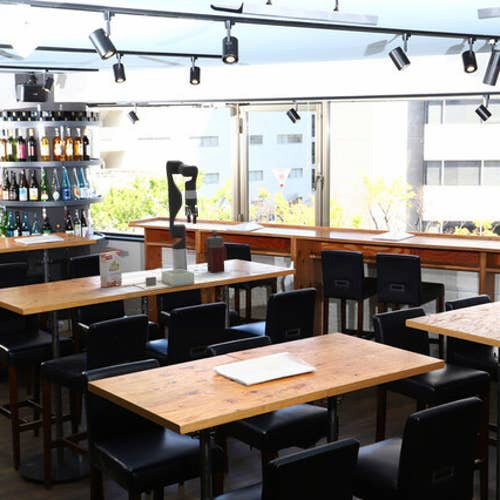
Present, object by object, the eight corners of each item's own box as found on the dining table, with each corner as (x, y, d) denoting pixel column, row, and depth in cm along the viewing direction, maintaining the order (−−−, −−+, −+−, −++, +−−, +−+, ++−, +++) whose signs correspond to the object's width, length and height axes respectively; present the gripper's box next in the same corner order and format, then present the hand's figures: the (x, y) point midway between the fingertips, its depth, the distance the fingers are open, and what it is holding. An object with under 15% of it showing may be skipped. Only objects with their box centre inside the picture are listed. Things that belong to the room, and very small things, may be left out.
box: (162, 282, 534) (161, 271, 533) (182, 279, 541) (181, 269, 540) (173, 286, 519) (173, 275, 518) (194, 283, 525) (193, 272, 524)
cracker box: (107, 287, 520) (105, 254, 518) (100, 287, 524) (98, 253, 521) (122, 284, 532) (121, 251, 529) (115, 283, 535) (113, 250, 533)
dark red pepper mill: (227, 271, 569) (226, 229, 565) (212, 273, 564) (210, 231, 560) (222, 269, 577) (221, 228, 573) (207, 271, 572) (205, 230, 568)
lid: (134, 286, 526) (133, 276, 525) (156, 283, 533) (156, 274, 532) (145, 290, 510) (145, 280, 509) (168, 288, 517) (168, 278, 516)
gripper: (180, 197, 537) (181, 222, 539) (190, 198, 524) (191, 224, 526) (191, 196, 540) (192, 222, 542) (201, 197, 528) (202, 223, 530)
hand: (191, 223), depth 534 cm, fingers open, 8 cm apart
